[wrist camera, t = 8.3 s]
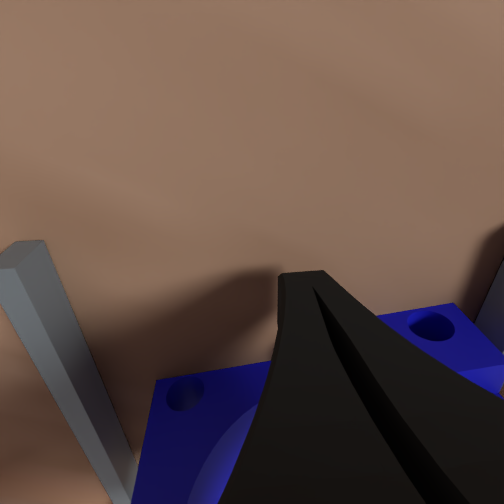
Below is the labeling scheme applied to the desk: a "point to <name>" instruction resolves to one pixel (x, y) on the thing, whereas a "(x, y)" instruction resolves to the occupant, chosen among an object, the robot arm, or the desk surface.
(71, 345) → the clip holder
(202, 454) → the cable clip
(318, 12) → the desk surface
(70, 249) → the desk surface
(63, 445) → the desk surface
